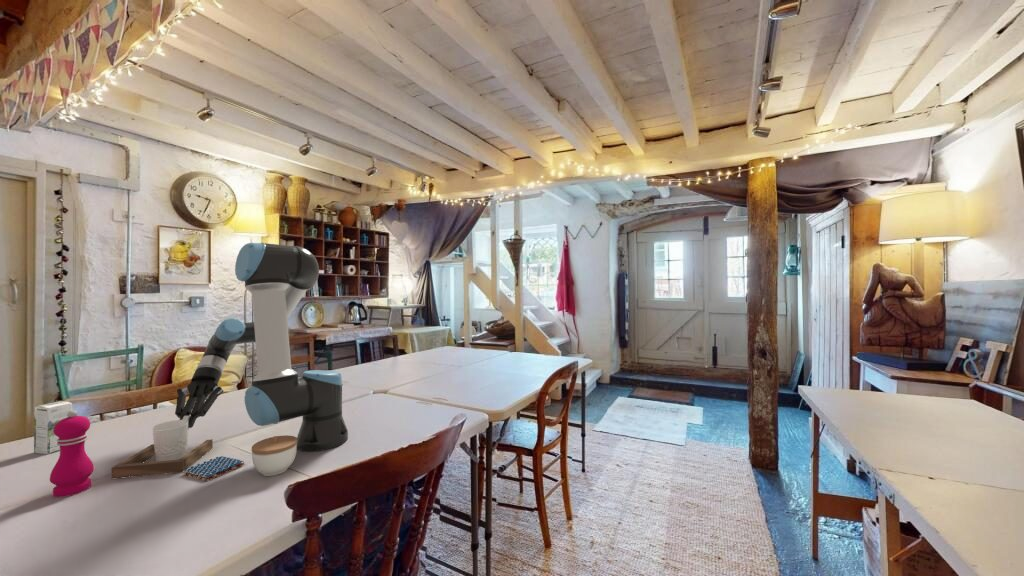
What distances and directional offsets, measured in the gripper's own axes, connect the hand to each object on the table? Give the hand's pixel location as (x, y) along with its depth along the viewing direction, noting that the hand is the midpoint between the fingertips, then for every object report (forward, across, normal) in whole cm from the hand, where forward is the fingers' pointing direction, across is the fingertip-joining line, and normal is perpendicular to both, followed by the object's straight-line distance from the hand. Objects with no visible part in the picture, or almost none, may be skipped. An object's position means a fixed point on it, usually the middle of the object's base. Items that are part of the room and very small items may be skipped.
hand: (179, 437), depth 117 cm
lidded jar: (+18, -33, +11) cm, 39 cm away
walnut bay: (+8, 0, +2) cm, 8 cm away
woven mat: (+15, -17, +7) cm, 23 cm away
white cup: (+6, 0, 0) cm, 6 cm away
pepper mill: (+17, +12, +11) cm, 24 cm away
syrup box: (-5, +40, -12) cm, 42 cm away
